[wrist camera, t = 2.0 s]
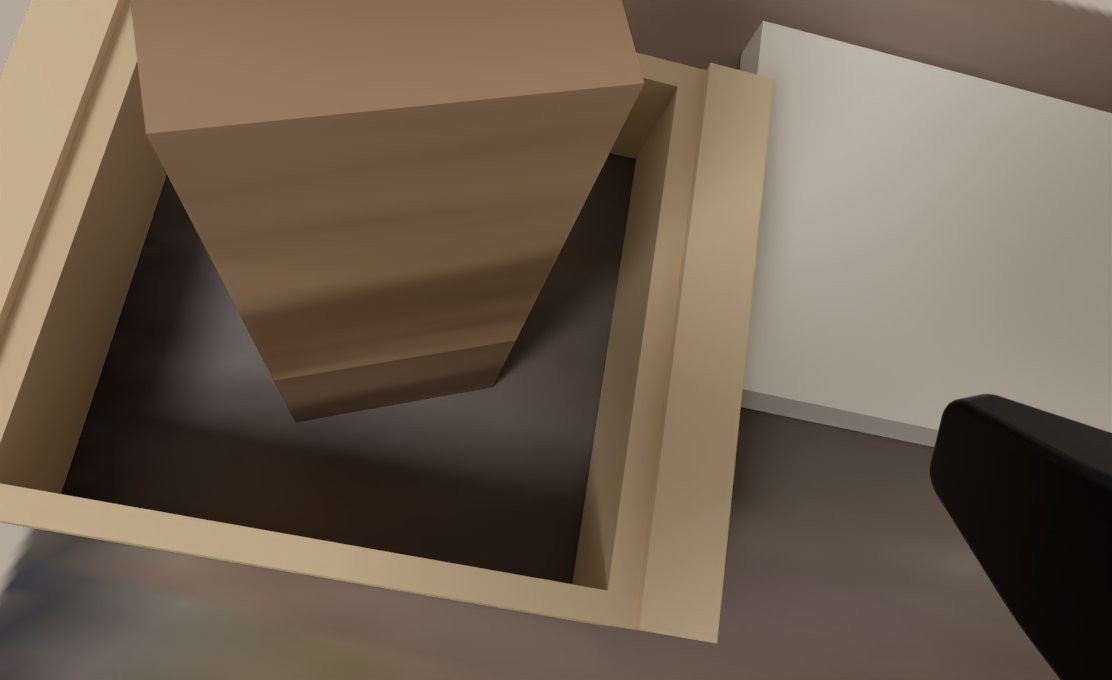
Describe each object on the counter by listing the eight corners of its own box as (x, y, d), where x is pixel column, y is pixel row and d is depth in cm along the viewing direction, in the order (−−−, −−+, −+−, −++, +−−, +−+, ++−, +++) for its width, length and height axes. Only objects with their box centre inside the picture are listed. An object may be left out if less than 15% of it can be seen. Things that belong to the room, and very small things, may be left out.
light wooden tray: (657, 635, 20) (717, 643, 16) (-59, 512, 18) (-171, 491, 14) (714, 157, 24) (773, 78, 20) (125, 14, 22) (73, -102, 18)
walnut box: (492, 386, 21) (643, 83, 9) (295, 422, 20) (145, 134, 8) (456, 211, 22) (544, -284, 10) (267, 236, 21) (95, -283, 9)
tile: (1206, 503, 23) (1259, 497, 22) (701, 399, 22) (723, 385, 20) (1185, 169, 26) (1230, 144, 25) (741, 53, 25) (763, 20, 23)
